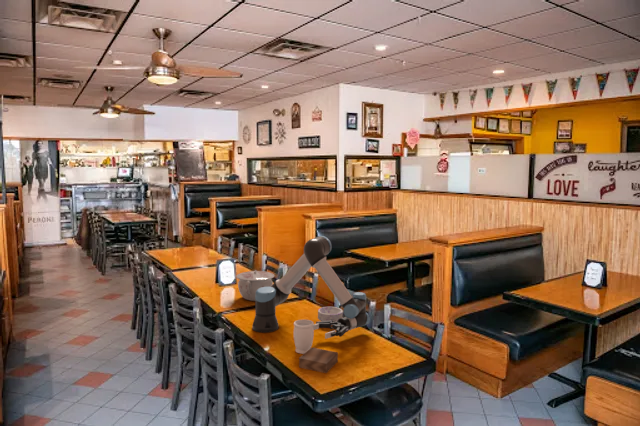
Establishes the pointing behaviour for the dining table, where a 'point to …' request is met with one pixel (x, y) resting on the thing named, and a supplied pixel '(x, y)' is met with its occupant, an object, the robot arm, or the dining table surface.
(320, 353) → the walnut block
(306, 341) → the jar
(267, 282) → the chamber pot
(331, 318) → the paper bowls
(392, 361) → the dining table surface
